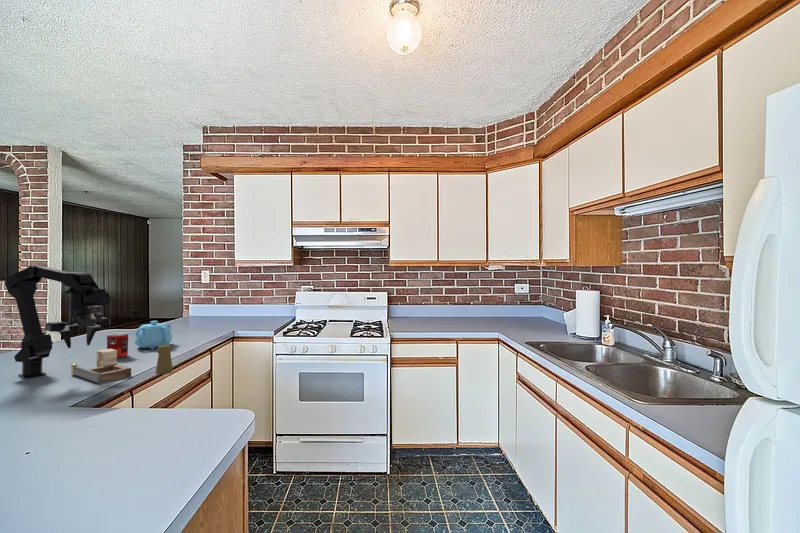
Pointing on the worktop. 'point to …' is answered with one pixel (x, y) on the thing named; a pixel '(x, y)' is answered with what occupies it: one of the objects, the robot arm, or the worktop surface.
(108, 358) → the birch block
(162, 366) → the cork
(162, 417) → the worktop surface
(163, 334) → the decorative pot
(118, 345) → the canned food
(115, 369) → the walnut cradle
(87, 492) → the worktop surface
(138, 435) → the worktop surface
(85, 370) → the bar
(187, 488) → the worktop surface
